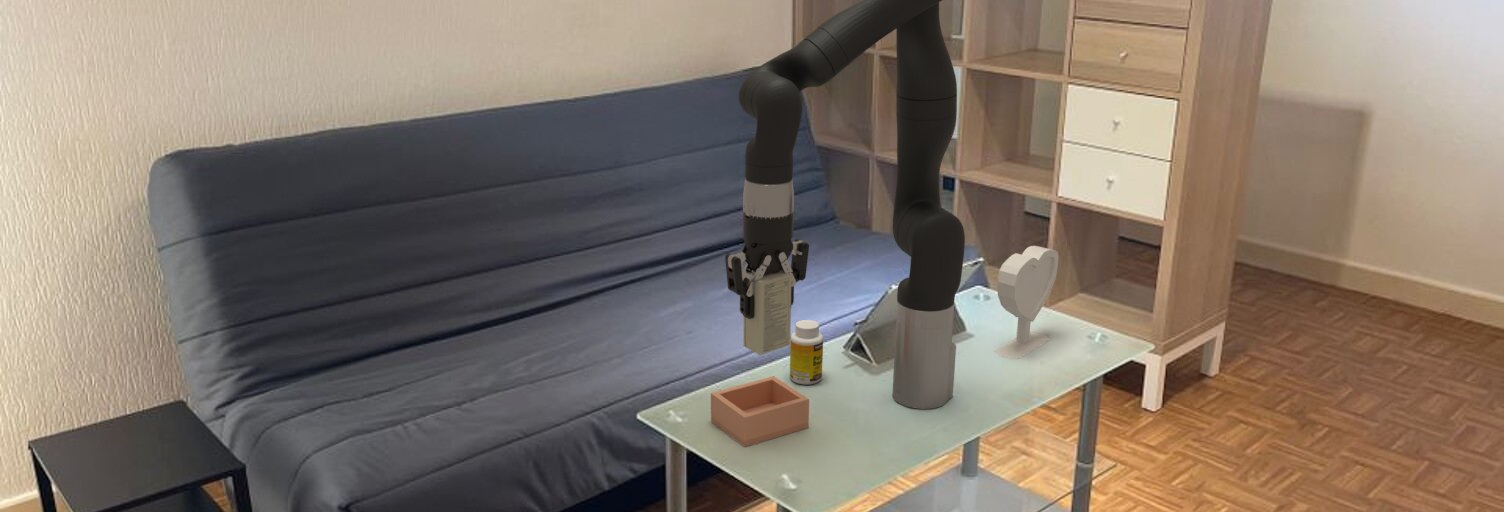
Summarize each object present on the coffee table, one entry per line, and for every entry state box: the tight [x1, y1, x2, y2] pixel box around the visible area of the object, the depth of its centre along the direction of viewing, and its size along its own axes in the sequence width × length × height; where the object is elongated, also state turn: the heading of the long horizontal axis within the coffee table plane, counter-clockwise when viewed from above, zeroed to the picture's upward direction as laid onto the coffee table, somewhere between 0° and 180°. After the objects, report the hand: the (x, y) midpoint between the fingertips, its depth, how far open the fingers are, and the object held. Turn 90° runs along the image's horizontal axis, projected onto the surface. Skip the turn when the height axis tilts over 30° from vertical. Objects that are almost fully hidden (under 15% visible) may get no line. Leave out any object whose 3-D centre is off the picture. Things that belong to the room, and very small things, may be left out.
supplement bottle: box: [789, 319, 824, 385], centre depth 211 cm, size 6×6×10 cm
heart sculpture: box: [993, 245, 1059, 360], centre depth 224 cm, size 16×5×18 cm, turn 139°
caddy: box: [710, 375, 810, 448], centre depth 196 cm, size 12×10×5 cm
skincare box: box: [743, 270, 792, 356], centre depth 189 cm, size 6×4×12 cm
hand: (766, 312), depth 189 cm, fingers closed on skincare box, 6 cm apart
